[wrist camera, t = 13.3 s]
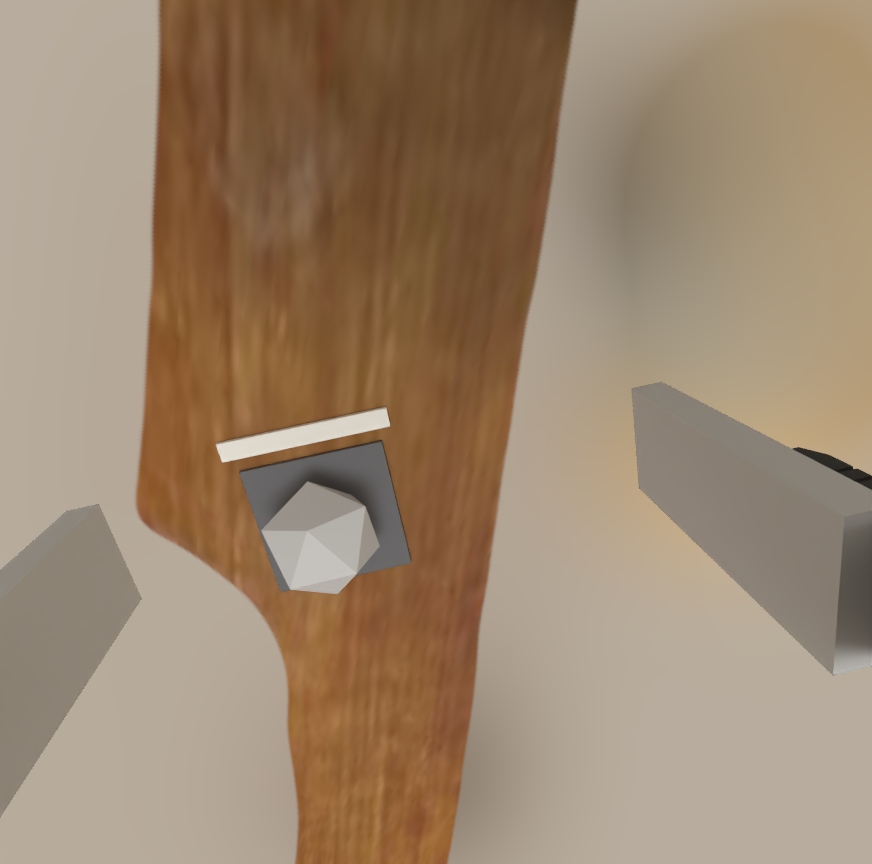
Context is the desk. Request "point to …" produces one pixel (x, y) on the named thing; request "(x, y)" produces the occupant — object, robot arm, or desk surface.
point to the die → (321, 539)
